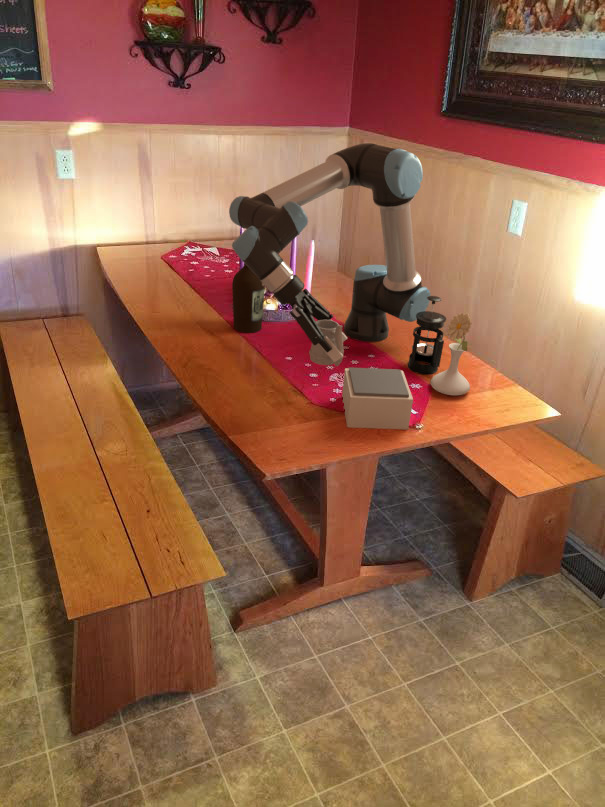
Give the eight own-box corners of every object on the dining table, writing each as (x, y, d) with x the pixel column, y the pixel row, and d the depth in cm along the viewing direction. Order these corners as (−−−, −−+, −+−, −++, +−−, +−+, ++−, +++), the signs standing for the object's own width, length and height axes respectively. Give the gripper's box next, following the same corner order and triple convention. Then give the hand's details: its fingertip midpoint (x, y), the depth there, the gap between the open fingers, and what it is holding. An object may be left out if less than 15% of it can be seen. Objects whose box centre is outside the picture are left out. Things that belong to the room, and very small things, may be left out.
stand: (341, 396, 187) (345, 365, 182) (398, 399, 188) (403, 368, 183) (347, 427, 173) (351, 394, 168) (408, 429, 174) (413, 396, 169)
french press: (399, 362, 208) (410, 293, 196) (423, 358, 212) (435, 289, 201) (423, 379, 199) (435, 307, 188) (447, 373, 203) (461, 303, 192)
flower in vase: (427, 379, 199) (441, 300, 187) (465, 381, 199) (481, 303, 187) (433, 400, 188) (448, 318, 176) (473, 403, 188) (491, 321, 176)
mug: (328, 350, 178) (332, 308, 172) (352, 369, 169) (357, 326, 163) (303, 355, 174) (306, 312, 168) (326, 375, 166) (331, 331, 160)
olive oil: (225, 328, 222) (225, 255, 209) (242, 318, 230) (244, 247, 218) (252, 336, 218) (254, 262, 205) (269, 326, 226) (272, 254, 213)
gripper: (280, 277, 174) (334, 339, 181) (262, 309, 155) (324, 377, 162) (301, 260, 171) (356, 324, 178) (286, 290, 152) (348, 361, 158)
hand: (341, 349), depth 170 cm, fingers closed on mug, 10 cm apart
